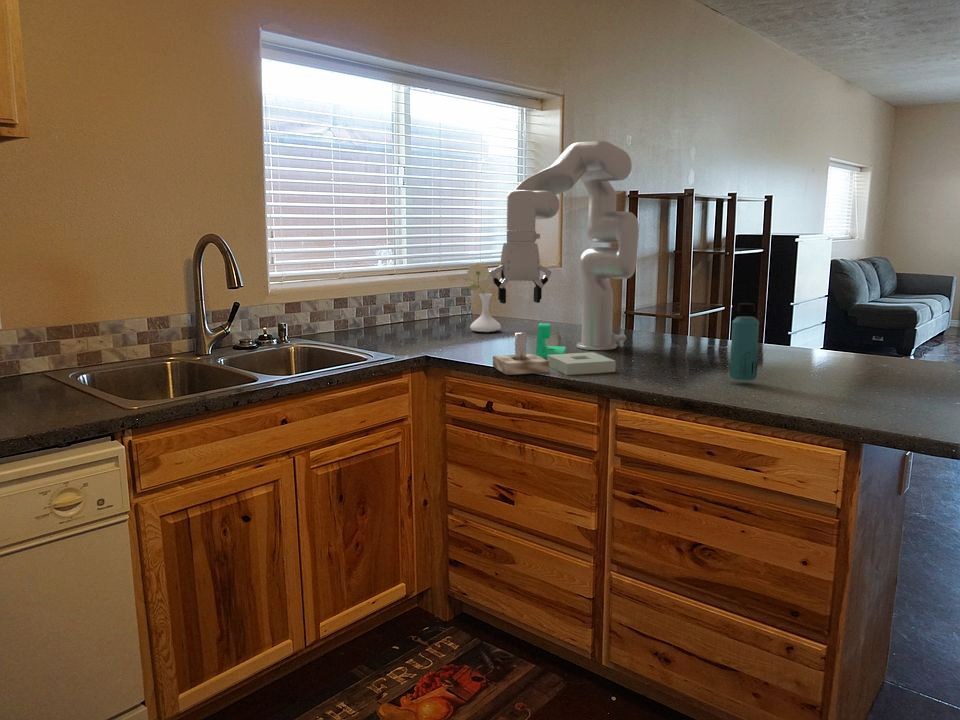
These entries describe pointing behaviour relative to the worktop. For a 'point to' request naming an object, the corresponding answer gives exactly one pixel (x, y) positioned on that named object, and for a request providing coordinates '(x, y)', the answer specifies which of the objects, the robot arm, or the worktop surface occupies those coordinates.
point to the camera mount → (541, 348)
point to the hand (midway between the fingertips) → (519, 302)
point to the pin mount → (520, 364)
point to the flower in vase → (485, 320)
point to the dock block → (581, 363)
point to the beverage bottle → (744, 344)
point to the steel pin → (520, 346)
